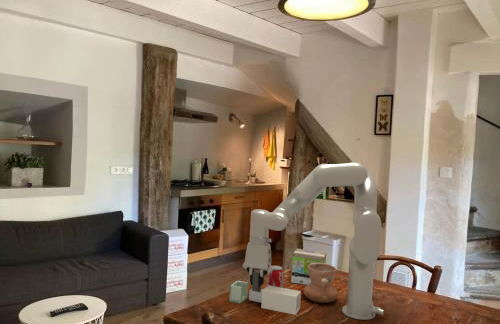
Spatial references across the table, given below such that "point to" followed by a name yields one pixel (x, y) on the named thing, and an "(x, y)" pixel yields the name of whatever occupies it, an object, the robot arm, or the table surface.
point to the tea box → (304, 264)
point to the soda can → (275, 277)
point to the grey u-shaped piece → (255, 288)
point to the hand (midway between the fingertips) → (256, 284)
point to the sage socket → (238, 292)
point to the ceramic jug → (321, 283)
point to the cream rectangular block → (281, 299)
